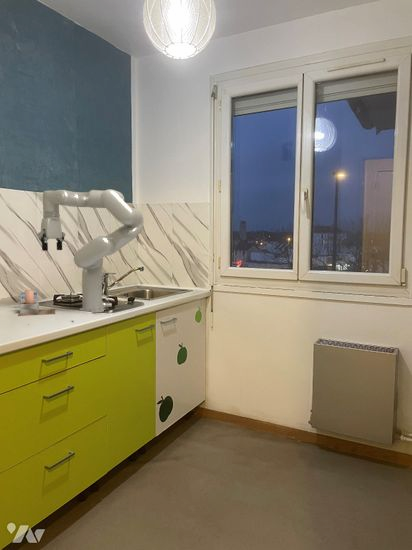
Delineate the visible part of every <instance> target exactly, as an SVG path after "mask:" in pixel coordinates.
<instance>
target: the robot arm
mask: <svg viewBox="0 0 412 550" xmlns="http://www.w3.org/2000/svg"><path fill="white" fill-rule="evenodd" d="M60 206H65V207H72V208H73V207H74V208H75V207H76V208H90V209H94V208H95V209H107V212H109V213H110V214H111V215H112V216H113V217H114V219H116V220H117V222H119V223H120V224H121V225H122V226H120V227H118V228H117V229H115V230H114V231H112V232H111V233H109V234H108V235H99V236H97V237H95V238H93V239H92V240H90V241H88V242H87V243H86V244H83V246H81V247H80V248H78V250H77V251H75V253H74V255H73V263H74V264H75V266H77V267H78V268H80V269H82V270H81V271H82V272H81V292H82V293H81V295H82V297H81V298H82V302H81V303H82V307H80V308H79V310H80V311H82V312H91V313H92V314H97V313H103V312H105V311H106V308H107V307H108V308H109V307H110V308H112V307H113V306H112V305H113V304H112V302H104V301H103V286H102V285H103V263H104V257H108V256H112V255H114V254H115V253H116V252H118V251H119V250H121V249H122V248H123V247H125V246H126V245H127V244H129V243H130V242H131V241H133V240H134V239H136V237H138V236H139V234H140V233H141V232H142V229H143V228H144V217H143V213H142V212H141V211H140V210H139V209H137V208H134V207H131V206H129V204H127V203H126V202H125V196H124V195H123V193H122V192H120V191H117V190H115V189H106V190H99V189H90V190H89V191H86V192H81V191H79V192H78V191H72V190H66V189H56V190H44V191H43V192H42V214H43V216H42V217H43V218H41V223H40V231H39V232H38V233H37V236H38V239H39V241H40V243H41V251H43V252H48V251H49V246H48V245H49V244H48V241H49V239H52V240H53V239H54V240H55V241H56V250H57V251H62V250H63V242H64V240H65V237H66V233H65V232H63V231H62V223H61V218H60V216H61V215H60ZM104 310H105V311H104Z"/></svg>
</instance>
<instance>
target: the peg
mask: <svg viewBox="0 0 412 550" xmlns="http://www.w3.org/2000/svg"><path fill="white" fill-rule="evenodd" d="M24 292H25V304H34V292H35V291H34V290H33V289H29V290H27V289H26V290H24Z"/></svg>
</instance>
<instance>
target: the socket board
mask: <svg viewBox="0 0 412 550" xmlns="http://www.w3.org/2000/svg"><path fill="white" fill-rule="evenodd" d="M45 315H47V316H48V315H56V308H48V309H46V308H45V309H40V302H39V301H37V302H34V304H25V302H21V301H20V303H19V312H18V315H17V316H18V317H21V316H22V317H24V316H26V317H27V316H28V317H29V316H45Z"/></svg>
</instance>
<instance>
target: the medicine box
mask: <svg viewBox="0 0 412 550" xmlns="http://www.w3.org/2000/svg"><path fill="white" fill-rule="evenodd" d="M19 295H20V297H19V298H20V303H21V302H25V291H21V292H20V294H19ZM34 302H38V291H34Z"/></svg>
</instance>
